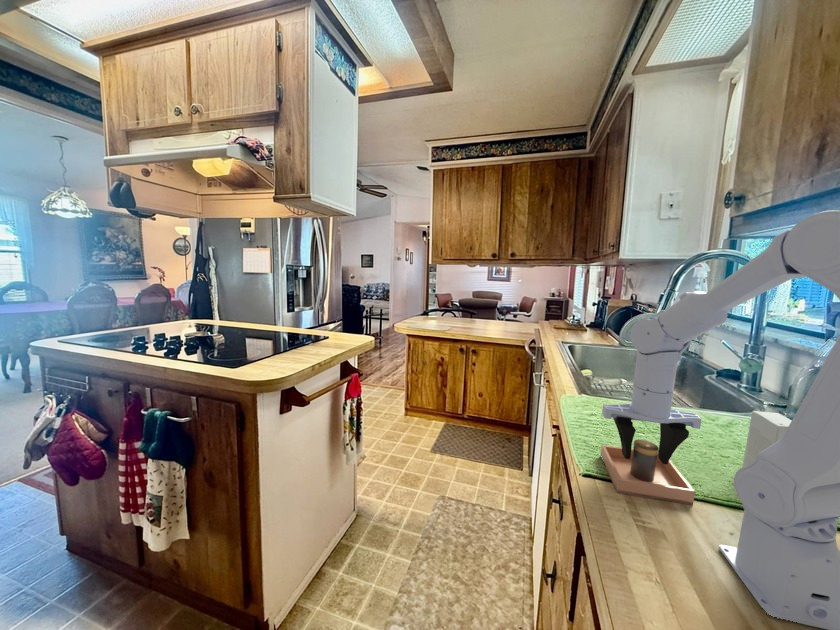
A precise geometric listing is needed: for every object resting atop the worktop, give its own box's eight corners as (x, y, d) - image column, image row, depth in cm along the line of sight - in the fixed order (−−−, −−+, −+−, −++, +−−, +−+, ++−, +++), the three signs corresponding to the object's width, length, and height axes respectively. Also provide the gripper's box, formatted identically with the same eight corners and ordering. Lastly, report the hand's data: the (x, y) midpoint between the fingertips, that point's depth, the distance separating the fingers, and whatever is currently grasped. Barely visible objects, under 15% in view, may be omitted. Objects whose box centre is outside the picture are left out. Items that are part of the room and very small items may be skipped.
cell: (657, 483, 58) (662, 452, 57) (634, 479, 59) (638, 448, 58) (649, 470, 62) (653, 441, 61) (627, 467, 63) (631, 438, 62)
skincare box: (795, 494, 56) (809, 428, 54) (766, 490, 57) (778, 426, 55) (766, 471, 62) (778, 412, 60) (740, 469, 63) (750, 410, 61)
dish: (692, 505, 54) (695, 491, 53) (617, 492, 57) (618, 479, 56) (663, 464, 64) (664, 453, 64) (600, 456, 67) (601, 445, 67)
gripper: (690, 382, 59) (680, 452, 62) (600, 375, 63) (594, 441, 65) (712, 398, 53) (700, 475, 55) (611, 389, 56) (604, 462, 59)
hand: (644, 458), depth 60 cm, fingers open, 5 cm apart
